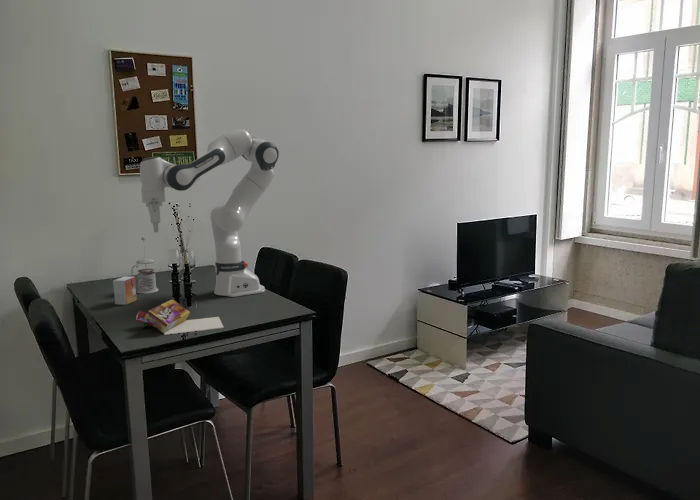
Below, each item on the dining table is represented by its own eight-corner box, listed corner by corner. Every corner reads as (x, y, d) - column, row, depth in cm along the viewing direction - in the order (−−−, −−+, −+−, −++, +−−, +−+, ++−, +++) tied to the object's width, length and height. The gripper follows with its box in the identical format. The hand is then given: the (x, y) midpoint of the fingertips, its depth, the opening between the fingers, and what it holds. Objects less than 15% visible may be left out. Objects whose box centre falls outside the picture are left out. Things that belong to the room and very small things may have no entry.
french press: (154, 293, 257) (150, 238, 253) (128, 293, 258) (124, 238, 253) (161, 288, 267) (157, 235, 263) (137, 288, 267) (132, 235, 263)
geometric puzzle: (164, 318, 212) (150, 302, 211) (158, 323, 205) (143, 307, 204) (149, 329, 213) (135, 313, 212) (143, 335, 206) (128, 319, 205)
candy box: (167, 307, 217) (143, 318, 202) (172, 298, 215) (148, 309, 201) (185, 321, 215) (162, 333, 201) (190, 312, 214) (167, 323, 200)
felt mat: (218, 317, 219) (218, 316, 219) (223, 328, 206) (223, 327, 206) (162, 323, 212) (162, 322, 212) (164, 335, 199) (164, 334, 199)
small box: (126, 305, 239) (124, 280, 237) (114, 304, 240) (112, 280, 238) (137, 300, 246) (135, 276, 245) (125, 299, 248) (123, 276, 246)
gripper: (162, 199, 220) (165, 235, 222) (161, 195, 239) (163, 228, 241) (145, 200, 218) (148, 236, 220) (145, 196, 237) (147, 229, 239)
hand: (156, 231), depth 231 cm, fingers closed
